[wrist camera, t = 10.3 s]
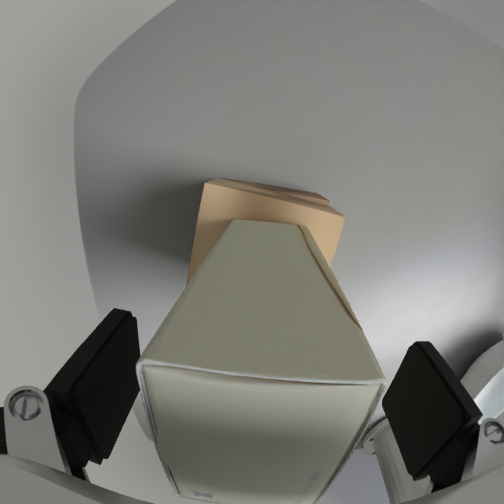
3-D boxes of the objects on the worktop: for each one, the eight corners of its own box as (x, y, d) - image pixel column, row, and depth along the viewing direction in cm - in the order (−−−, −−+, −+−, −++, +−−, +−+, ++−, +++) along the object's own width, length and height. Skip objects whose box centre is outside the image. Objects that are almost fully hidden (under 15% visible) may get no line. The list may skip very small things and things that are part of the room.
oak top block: (329, 205, 19) (345, 217, 15) (297, 306, 22) (304, 335, 18) (215, 177, 19) (204, 182, 15) (195, 283, 21) (183, 310, 17)
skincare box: (293, 320, 17) (315, 510, 6) (222, 314, 17) (173, 499, 6) (308, 220, 15) (404, 382, 4) (227, 213, 15) (125, 362, 4)
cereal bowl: (420, 409, 32) (436, 442, 25) (480, 317, 26) (510, 345, 20) (478, 402, 33) (494, 426, 26) (527, 326, 27) (550, 348, 21)
